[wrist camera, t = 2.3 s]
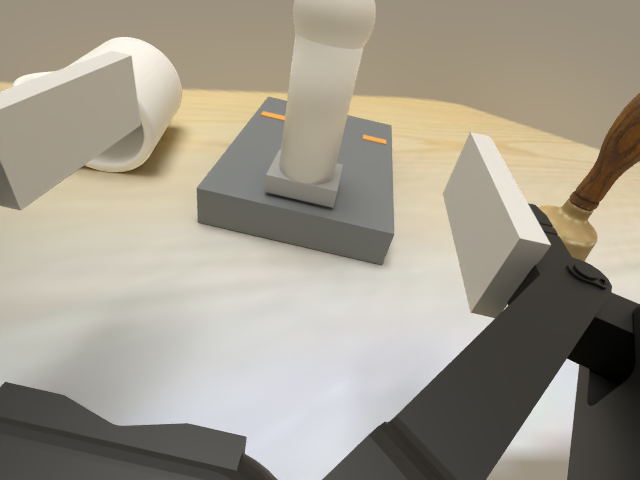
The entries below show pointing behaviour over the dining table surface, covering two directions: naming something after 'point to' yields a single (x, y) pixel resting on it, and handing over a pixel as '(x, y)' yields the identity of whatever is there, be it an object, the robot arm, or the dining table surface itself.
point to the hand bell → (598, 183)
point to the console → (296, 215)
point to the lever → (319, 97)
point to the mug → (153, 101)
